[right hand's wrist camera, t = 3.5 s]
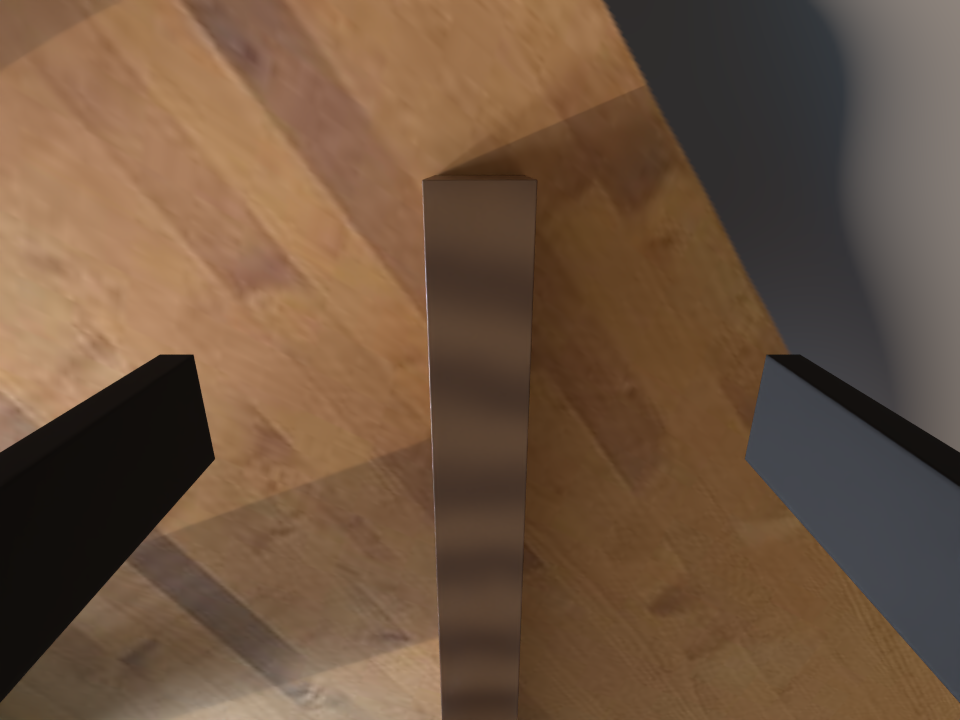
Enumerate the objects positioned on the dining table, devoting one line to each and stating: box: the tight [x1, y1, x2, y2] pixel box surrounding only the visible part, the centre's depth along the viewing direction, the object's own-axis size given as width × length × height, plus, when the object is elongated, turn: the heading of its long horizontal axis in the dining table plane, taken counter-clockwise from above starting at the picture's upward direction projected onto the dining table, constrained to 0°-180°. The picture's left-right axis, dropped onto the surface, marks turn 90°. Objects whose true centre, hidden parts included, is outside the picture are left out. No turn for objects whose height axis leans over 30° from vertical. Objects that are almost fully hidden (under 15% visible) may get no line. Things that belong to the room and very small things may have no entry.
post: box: [422, 175, 537, 720], centre depth 42 cm, size 64×6×8 cm, turn 0°
